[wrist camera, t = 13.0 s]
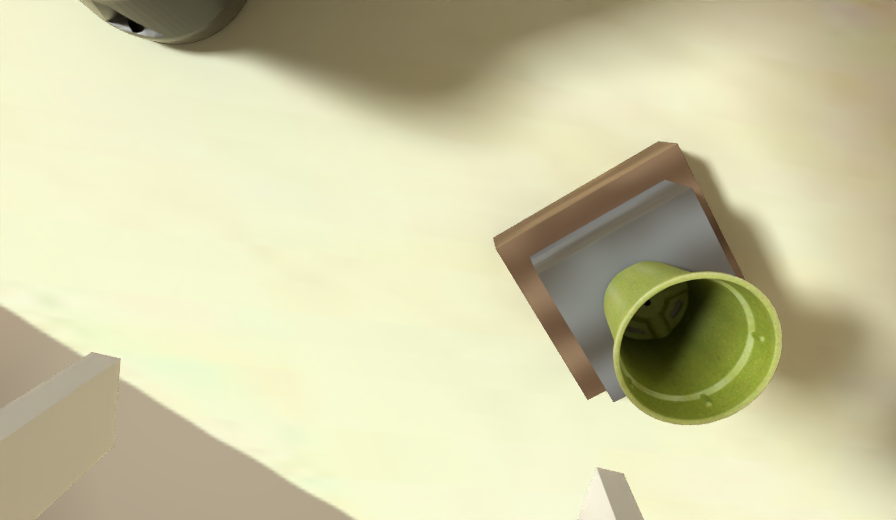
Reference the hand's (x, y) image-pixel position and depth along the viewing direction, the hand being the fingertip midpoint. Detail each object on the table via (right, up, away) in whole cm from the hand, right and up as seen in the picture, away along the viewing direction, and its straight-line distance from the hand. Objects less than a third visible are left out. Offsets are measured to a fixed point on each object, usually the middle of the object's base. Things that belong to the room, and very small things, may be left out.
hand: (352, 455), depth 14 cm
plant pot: (+17, +2, +24) cm, 29 cm away
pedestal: (+18, +5, +32) cm, 37 cm away
